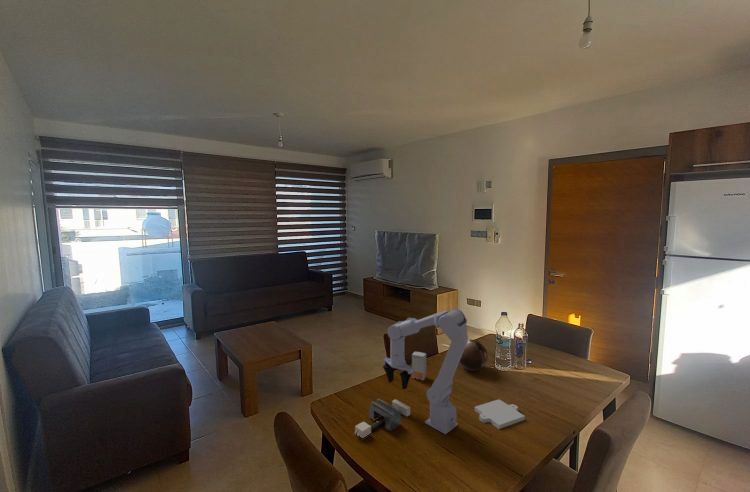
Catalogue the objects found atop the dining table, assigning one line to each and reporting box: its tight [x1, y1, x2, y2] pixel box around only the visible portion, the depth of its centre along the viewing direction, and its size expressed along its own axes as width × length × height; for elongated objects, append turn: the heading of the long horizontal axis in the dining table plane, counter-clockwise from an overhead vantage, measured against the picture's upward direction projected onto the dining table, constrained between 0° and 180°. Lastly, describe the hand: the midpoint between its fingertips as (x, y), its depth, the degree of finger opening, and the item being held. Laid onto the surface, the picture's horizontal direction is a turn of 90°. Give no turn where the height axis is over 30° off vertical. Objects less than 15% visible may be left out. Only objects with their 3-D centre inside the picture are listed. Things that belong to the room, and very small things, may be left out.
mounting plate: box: [474, 398, 526, 430], centre depth 129 cm, size 18×13×2 cm
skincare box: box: [411, 351, 427, 381], centre depth 159 cm, size 6×4×12 cm
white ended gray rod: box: [353, 399, 411, 439], centre depth 124 cm, size 8×24×3 cm, turn 133°
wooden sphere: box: [459, 339, 489, 372], centre depth 167 cm, size 15×15×15 cm
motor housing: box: [369, 398, 402, 432], centre depth 126 cm, size 11×6×6 cm, turn 43°
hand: (397, 384), depth 135 cm, fingers open, 7 cm apart
